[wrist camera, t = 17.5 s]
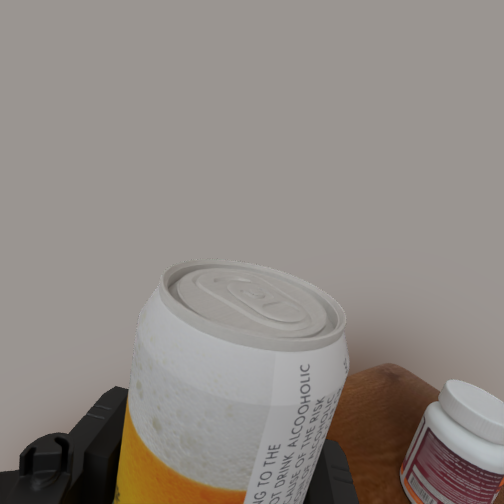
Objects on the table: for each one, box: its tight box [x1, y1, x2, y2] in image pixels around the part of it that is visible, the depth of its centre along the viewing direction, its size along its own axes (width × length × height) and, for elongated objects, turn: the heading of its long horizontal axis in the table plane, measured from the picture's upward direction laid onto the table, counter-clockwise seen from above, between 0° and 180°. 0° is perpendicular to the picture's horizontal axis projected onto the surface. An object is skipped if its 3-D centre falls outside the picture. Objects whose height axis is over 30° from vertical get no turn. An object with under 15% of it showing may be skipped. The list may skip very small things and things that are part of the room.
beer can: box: [114, 259, 350, 504], centre depth 9 cm, size 6×6×15 cm
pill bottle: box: [400, 379, 504, 504], centre depth 23 cm, size 6×6×11 cm
